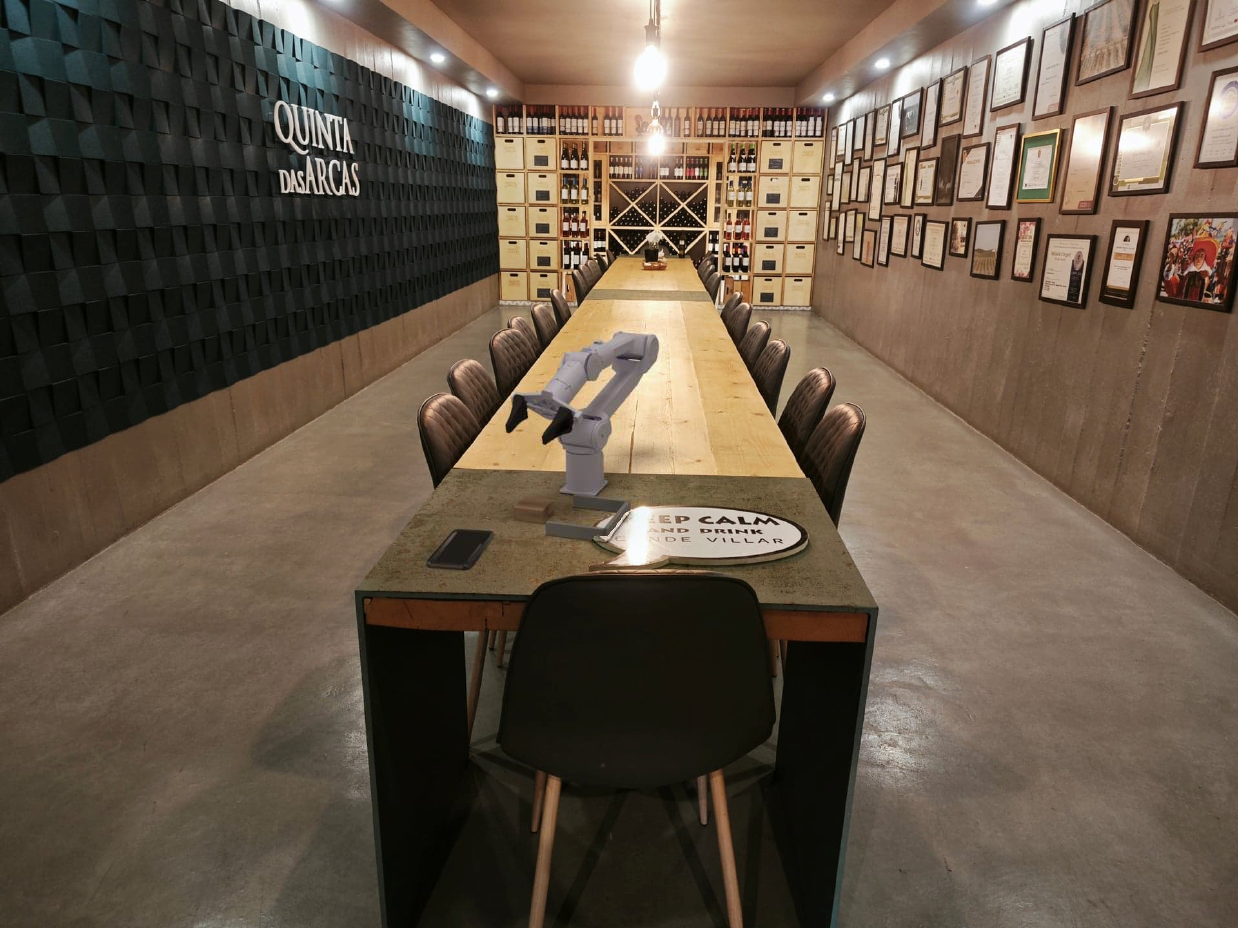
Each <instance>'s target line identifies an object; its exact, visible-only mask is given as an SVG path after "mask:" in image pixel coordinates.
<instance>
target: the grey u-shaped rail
mask: <svg viewBox="0 0 1238 928" xmlns="http://www.w3.org/2000/svg"><path fill="white" fill-rule="evenodd" d="M631 504H632V503H631V499H630V500H629V499H620V498H612V497H604V496H587V495H578V494H572V508H577V509H586V510H593V511H594V510H595V511H602V512H603V511H604V512H610V511H614V512H613V513H615V514H614V515H613V516H612V517H611V519H610V520H609V521H608V523H607V524H606V525H605V526H604V527H601V526H600V527H599V526H589V525H585V524H584V525H583V524H575V523H568V522H560V521H551V520H546V521H545V535H546V536H551V537H559V538H566V539H573V540H580V541H590V542H593V541H592V539H593V538H594V536H597V535H599V536H608V535H609V534H610V532H611V531H612V530H613V529H614V528H615V527H616V525H617V523H618V522H619V521H620V520H621V518H622V517H623V515H624V514H625V513H626V512H628V511H630V510H632V509H631Z"/></svg>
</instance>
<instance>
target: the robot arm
mask: <svg viewBox="0 0 1238 928" xmlns="http://www.w3.org/2000/svg"><path fill="white" fill-rule="evenodd" d="M659 350H660V342H659V339H658V337H657V335H656V334H654V333H651V334H645V333H637V332H635V333H633V332H625V331H621V330H619V331H617V332H614V333H613V335H612V338H611V339H610V340H608V341H607V342H606V341H603V340H602V339H601V340H600V339H596V340H593V343H592V344H590V345H588V346H583V347H582V349H580V350H578V351H576V350H570V351H569V352H566V351H565V352H564V354H563V355H562V358H561V362H560V364H559V366H558V367H557V369H556V373H555V374H554V376H553V377H552V378H551V379H550V381H549V382H548V383H547V384H546V385H545V386H544V388H543V389H541V391H540V392H519V391H515V392H514V393H513V394H512V395H511V397H510V400H511V405H512V406H511V408H510V409H511V410H510V414H509V417H507V418H508V419H507V421H506V423H505V425H504V426H505V433H506V434H511V433H512V432H514V430H515V429H516V428H517V427H518V426H519V424H521V423H522V422H524V421H526V420H528V419H529V415H528V414H529V413H528V409H529V410H531V412H534V413H536V414H537V415H539V416H540V417H542V418H544V419H546V420H549V421H551V422H550V424H549V425H548V426H547V428H546V429H545V430H544V432H543V433H542V435H541V442H542V443H541V444H542V445H543V446H546V445H548V444H550V442H552V441H554V440H555V439H557V442H558V443H559V444H560V445H561V446H562V450H564V451H565V485H563V487H561V488H560V489H559V493H561V494H571V495H574V494H578V495H587V496H595V497H597V495H598V494H599V492H600V491H602V489H604V487H605V486H606V485H607V484H609V483H608V482H609V481H608V479H607V480H606V479H605V473H604V472H605V466H604V465H605V455H604V452H603V449H604V448H605V447H606V445H607V443H608V442H609V441H608V440H609V438H610V436H611V434H613V433H612V431H613V430H612V429H613V428H612V421H611V418H612V417H613V415H614V414H615V413H616V412H617V411H618V409H619V408H620V407H621V406H622V405H623V404H624V402H625V401H626V399H627V398H628V397H629V396H630V394H631V393H632V392H633V391H634V390H635V388H636V387H637V386H638V385H639V383H640V381H641V380H642V377H643V376H644V375H645V374H647V373H648V372H649V370H650V369H651V368H652V367H653V366H654V365H655V363H656V362H657V359H658V356H659ZM610 366H611V369H612V370H613V371H614V372H615V374H614V375H613V376H612V377H611V378H610V380H609V381H608V382H607V383H606V385H604V386H603V388H602V389H601V390H600V391H599V392H598V393H597V395H596V396H595V397H594V398H593V399H592V401H591V402H590V403H589V404H588V405H587V407H584V408H579V409H576V408H575V407H573V406H571V405H570V404H571V402H572V401H573V400H574V399H575V397H576V396H577V394H578V393H579V392H580V391H581V390H582V388H583V387H584V386H585V384H586V383H587V382H597V380H598V379H599V376H600V373H603V372H602V371H603V370H605V369H607V368H608V367H610Z"/></svg>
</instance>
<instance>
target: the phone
mask: <svg viewBox="0 0 1238 928" xmlns="http://www.w3.org/2000/svg"><path fill="white" fill-rule="evenodd" d="M494 538H495V534H494V531H491V530H481V529H480V530H479V529H464V528H457V529H456V528H455V529H453V530H452V531H451V532H450V534H449V535H448V536H446V538H445V539H444V540H443V542H442V543H440V545H439V546H438V547H437V548H436V550H434V552H432V554H431V555H430V556H429V557H428V559H427V560H426V566H427V568H431V569H440V570H441V569H444V570H457V571H467V570H471V569H472V568H473V567H474V565H475V564H476V562H477V561H478V560H479V558H480V557H481V556H482V555H483V553H484V551H485V550H486V548H487V547H488V546H489V544H490V543H491V542H492V541H493V540H494Z"/></svg>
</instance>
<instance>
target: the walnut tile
mask: <svg viewBox="0 0 1238 928" xmlns="http://www.w3.org/2000/svg"><path fill="white" fill-rule="evenodd" d="M512 511H513V512H512V513H513V521H518V522H524V523H532V524H539V525H544V523H546V521H548V520H549V519H550V518H551V517H552V516H553V515H554V514H555V499H549V498H548V499H547V498H541V497H539V498H538V497H533V496H532V497H530V496H525V497H524V498H523V499H522V500H519V502H518V503H516V504H515V505H514V506H513V509H512ZM548 518H549V519H548Z"/></svg>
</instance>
